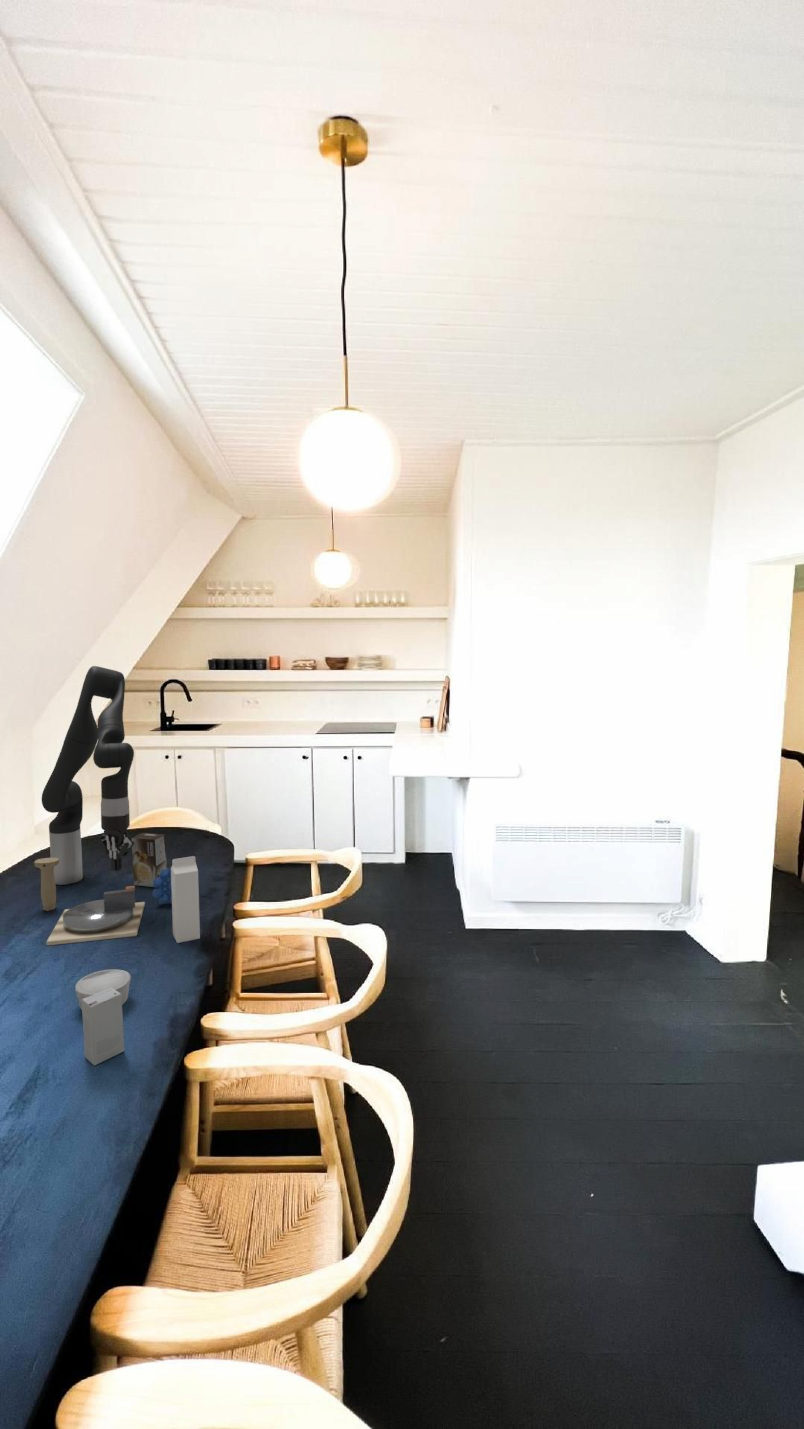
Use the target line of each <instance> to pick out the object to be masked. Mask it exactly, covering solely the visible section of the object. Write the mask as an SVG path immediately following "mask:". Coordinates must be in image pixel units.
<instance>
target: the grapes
mask: <svg viewBox="0 0 804 1429" xmlns="http://www.w3.org/2000/svg"><path fill="white" fill-rule="evenodd" d="M153 886H154V887H153V888H154V889H153V890H152V892H151V894H152V897H153V898H155V899H158V903H159V904H160V905H165V904H167V903H168V902H169V903H170V904H171V905H172V890H171V869H169V868H168V867H167V868H166V869H163V870H162V871H161V873H160V877H158V878H156V879H155V880H154V881H153Z"/></svg>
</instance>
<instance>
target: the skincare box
mask: <svg viewBox="0 0 804 1429" xmlns="http://www.w3.org/2000/svg"><path fill="white" fill-rule="evenodd" d="M81 1002H82V1009H81V1012H82V1030H83V1048H84V1058H86V1059H87V1060H88V1062H90V1063H91V1064H92V1065H93V1066H96V1065H99V1064H101V1063H103V1062H105V1061H106V1060H110V1059H111V1058H112V1057H115V1056H117V1055H119V1054H121V1053H123V1052H124V1051H125V1040H124V1039H125V1036H124V1035H125V1034H124V1020H123V1019H124V1016H123V1005H122V995H121V994H120V993H119V992H118V991H116V990H115V989H113V988H109V989H106V990H104V991H101V992H99V993H96V994H94V995H92V996H89V997H87V998H84V999H82V1000H81Z"/></svg>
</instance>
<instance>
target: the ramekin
mask: <svg viewBox="0 0 804 1429" xmlns="http://www.w3.org/2000/svg"><path fill="white" fill-rule="evenodd" d="M131 980H132V976H131V974H130V972H128V971H126V970H122V969H117V968H116V969H103V970H98V971H95V972H92V973H89V974H88V975H85V976H83V977H82V978H81V979H79V980H78V981H77V982H76V984H75V987H74V989H75V990H74V991H75V994H76V996H77V1001H78V1005H79V1009H81V1010H82V1002H81V1000H82V999H84V998H87V997H89V996H92V995H94V994H96V993H99V992H101V991H104V990H106V989H109V988H113V989H115V990H116V991H118V992H119V993H120V994H121V995H122V1006H123V1005H124V1004H125V1003H126V1002H127V1000H128V997H129V991H130V984H131V983H132V982H131Z"/></svg>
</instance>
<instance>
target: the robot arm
mask: <svg viewBox="0 0 804 1429" xmlns="http://www.w3.org/2000/svg"><path fill="white" fill-rule="evenodd" d="M125 689H126V679H125V676H124V674H123V673H122V672H121V671H118V670H114V669H109V668H105V667H103V666H96V665H92V666H91V667H90V668H88V671H87V672H86V674H85V676H84V681H83V684H82V687H81V691H80V695H79V698H78V702H77V706H76V708H75V712H74V713H73V717H72V720H71V722H70V725H69V727H68V729H67V732H66V734H65V737H64V740H63V744H62V746H61V749H60V752H59V753H58V758H57V759H56V762H55V765H54V768H53V770H52V771H51V774H50V776H49V778H48V780H47V782H46V784H45V786H44V788H43V791H42V793H41V804H42V807H43V808H44V810H45V811H46V812H48V813H53V814H54V813H55V814H56V813H57V814H56V816H55V817H54V819H52V820H51V821H50V822H49V824H48V834H49V836H48V837H49V851H50V852H49V853H50V854H49V855H50V858H59V864H58V865H56V866H55V867H54V877H55V885H59V886H62V885H63V886H65V885H71V884H75V883H79V882H80V881H82V879H83V878H84V877H83V875H84V874H83V855H82V853H83V852H82V836H81V834H82V832H81V823H82V821H83V808H84V806H83V805H84V804H83V803H84V802H83V801H84V800H83V792H82V791H83V790H82V788H81V786H80V785H79V784H78V783H77V782H76V781H74V778H75V776H76V775H77V774H78V772H80V770H81V769H82V768H83V767H84V766H85V764H86V763H88V761H89V760H90V758H91V757H92V758H93V760H92V761H93V763H94V765H95V766H96V767H97V768H99V769H114V768H115V769H116V768H117V769H118V768H119V770H118V771H117V772H116V773H114V774H109V775H106V776H104V777H102V778H101V780H100V785H101V787H100V788H101V790H100V792H101V793H100V795H101V801H100V828H101V829H102V830H103V834H102V835H100V836H98V837H97V839H98V841H99V844H100V845H101V847H102V850H103V851H104V853H105V855H107V856H109V858H110V866H111V871H114V872H119V871H121V870H122V868H123V865H122V864H123V862H122V861H123V858H124V857H127V856H128V855H129V853H130V851H132V846H133V845H134V842H133V841H132V840H130V839H129V838H128V837H129V834H128V828H129V827H130V818H131V816H130V800H129V776H130V773H131V772H130V771H131V767H132V764H133V761H134V757H135V750H134V748H133V746H132V745H131V744H130V743H128V742H124V740H125V737H126V736H125V735H126V734H125V727H124V704H125V694H126V693H125ZM94 697H98V698H104V699H108V700H111V702H110V703H109V704H108V706H107V707H105V709H103V710H102V711H101V713H100V714H99V716H98V719H97V722H96V718H95V716H94V713H93V708H92V701H93V698H94ZM92 755H93V756H92Z"/></svg>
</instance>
